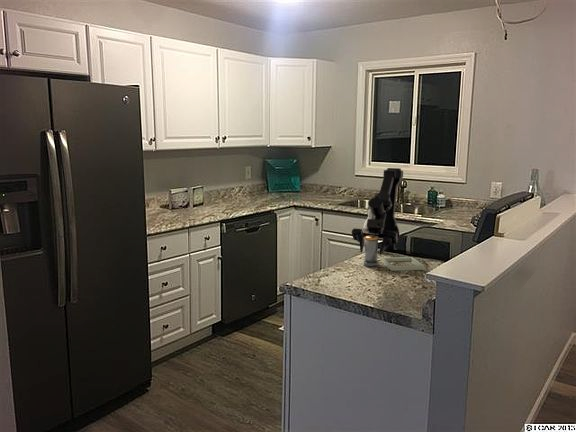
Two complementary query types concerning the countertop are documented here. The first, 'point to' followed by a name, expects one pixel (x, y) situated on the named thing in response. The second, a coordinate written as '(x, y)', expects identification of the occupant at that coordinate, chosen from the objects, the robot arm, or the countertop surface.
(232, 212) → the countertop surface
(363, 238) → the bath foam
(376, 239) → the grey and gold cylinder
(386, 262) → the bin
